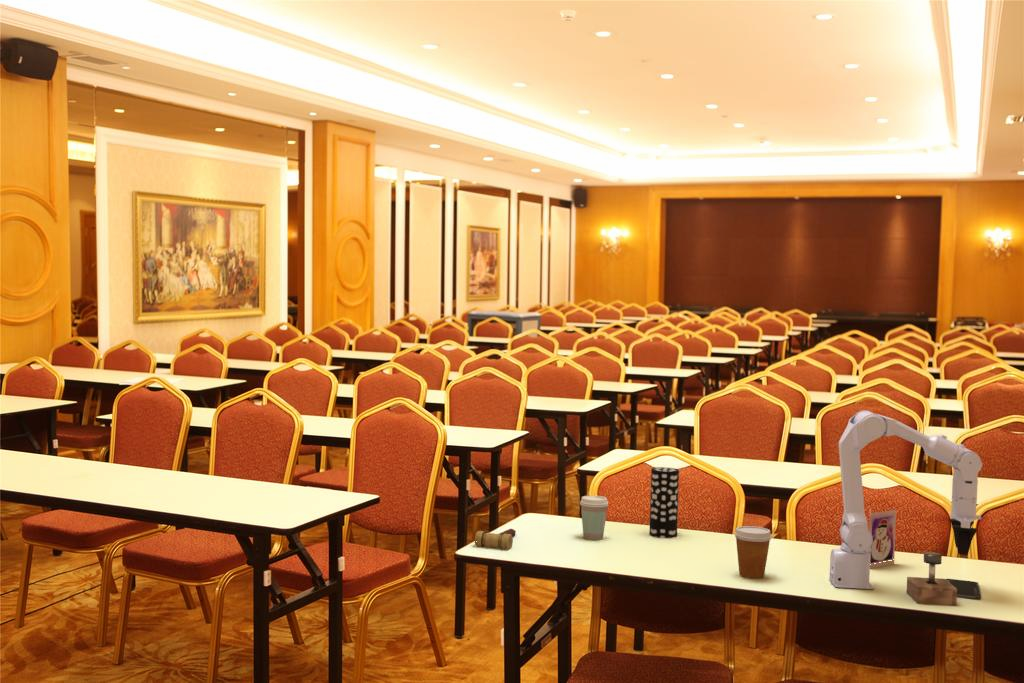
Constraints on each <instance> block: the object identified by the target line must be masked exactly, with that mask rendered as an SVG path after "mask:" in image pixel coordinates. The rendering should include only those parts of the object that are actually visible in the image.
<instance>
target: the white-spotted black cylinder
mask: <svg viewBox="0 0 1024 683" xmlns="http://www.w3.org/2000/svg"><path fill="white" fill-rule="evenodd" d="M650 473H651V474H650V501H649V502H650V506H649V507H650V509H649V535H650V536H651V537H654V538H659V539H674V538H676V537H677V536H678V520H679V517H678V514H679V491H680V490H679V489H680V488H679V487H680V486H679V485H680V484H679V483H680V470H679V469H678V468H674V467H665V466H663V467H662V466H661V467H660V466H659V467H651V469H650Z"/></svg>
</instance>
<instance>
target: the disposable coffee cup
mask: <svg viewBox="0 0 1024 683" xmlns="http://www.w3.org/2000/svg"><path fill="white" fill-rule="evenodd" d="M733 533H734V534H733V535H734V536H735V540H736V541H735V542H736V551H737V562H738V574H739V576H740V577H743V578H747V579H762V578H764V576H765V572H766V567H767V565H766V564H767V562H768V561H767V560H768V555H769V550H770V548H769V547H770V542H771V540H772V537H773V536H772V534H771V530H770V529H768V528H766V527H762V526H753V525H752V526H751V525H745V526H744V525H743V526H738V527H736V528H735V532H733Z"/></svg>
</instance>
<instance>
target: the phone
mask: <svg viewBox="0 0 1024 683" xmlns="http://www.w3.org/2000/svg"><path fill="white" fill-rule="evenodd" d="M945 579H946V580H947V581H948V582H949V583H951V584H952V585H953V586H954V587H955V588H957V599H958V598H960V599H968V600H976V601H978V600H981V597H982V596H981V592H980V584H979V582H977V581H972V580H965V579H964V580H963V579H955V578H945Z"/></svg>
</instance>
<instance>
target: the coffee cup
mask: <svg viewBox="0 0 1024 683" xmlns="http://www.w3.org/2000/svg"><path fill="white" fill-rule="evenodd" d="M579 504H580V509H581V510H580V512H581V524H582V533H583V534H582V536H583V538H584V539H586V540H588V541H589V540H590V541H599V540H603V539H604V536H605V535H604V533H605V526H606V520H607V513H608V506H609V501H608V498H607V497H606V496H603V495H602V496H601V495H594V494H593V495H584V496H581V500H580V501H579Z"/></svg>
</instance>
